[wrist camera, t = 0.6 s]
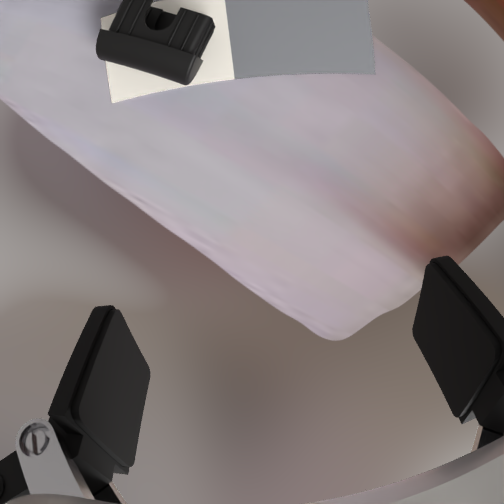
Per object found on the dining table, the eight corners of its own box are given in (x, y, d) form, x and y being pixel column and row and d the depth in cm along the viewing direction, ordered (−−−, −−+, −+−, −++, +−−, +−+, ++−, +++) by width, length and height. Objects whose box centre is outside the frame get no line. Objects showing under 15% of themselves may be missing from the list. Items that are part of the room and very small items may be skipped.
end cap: (112, 60, 28) (87, 58, 22) (137, 5, 25) (117, -9, 19) (192, 86, 30) (182, 86, 25) (220, 29, 27) (216, 17, 22)
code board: (101, 18, 25) (100, 18, 25) (223, -11, 25) (223, -11, 25) (112, 103, 31) (111, 103, 31) (234, 79, 30) (234, 79, 30)
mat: (223, -11, 25) (223, -11, 25) (365, -11, 25) (365, -11, 25) (234, 79, 30) (234, 79, 30) (375, 74, 30) (375, 74, 30)
